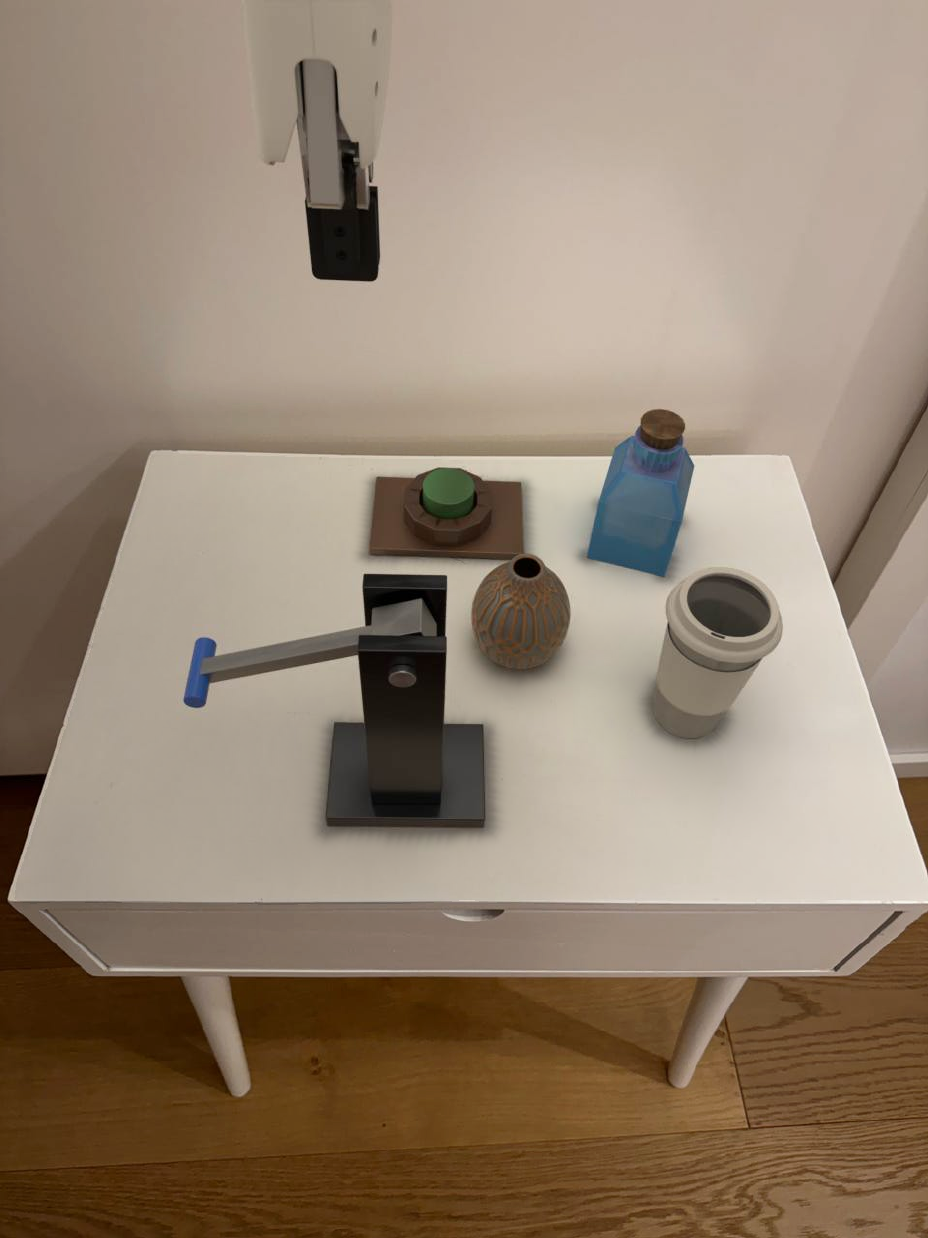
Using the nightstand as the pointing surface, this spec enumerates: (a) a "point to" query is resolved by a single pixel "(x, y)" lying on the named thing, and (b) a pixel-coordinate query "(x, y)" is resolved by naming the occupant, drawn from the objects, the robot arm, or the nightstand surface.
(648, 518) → the perfume bottle
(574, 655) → the nightstand surface
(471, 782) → the switch bracket
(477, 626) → the vase
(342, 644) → the light lever
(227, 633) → the nightstand surface
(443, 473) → the light button
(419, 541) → the button block
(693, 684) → the cup
